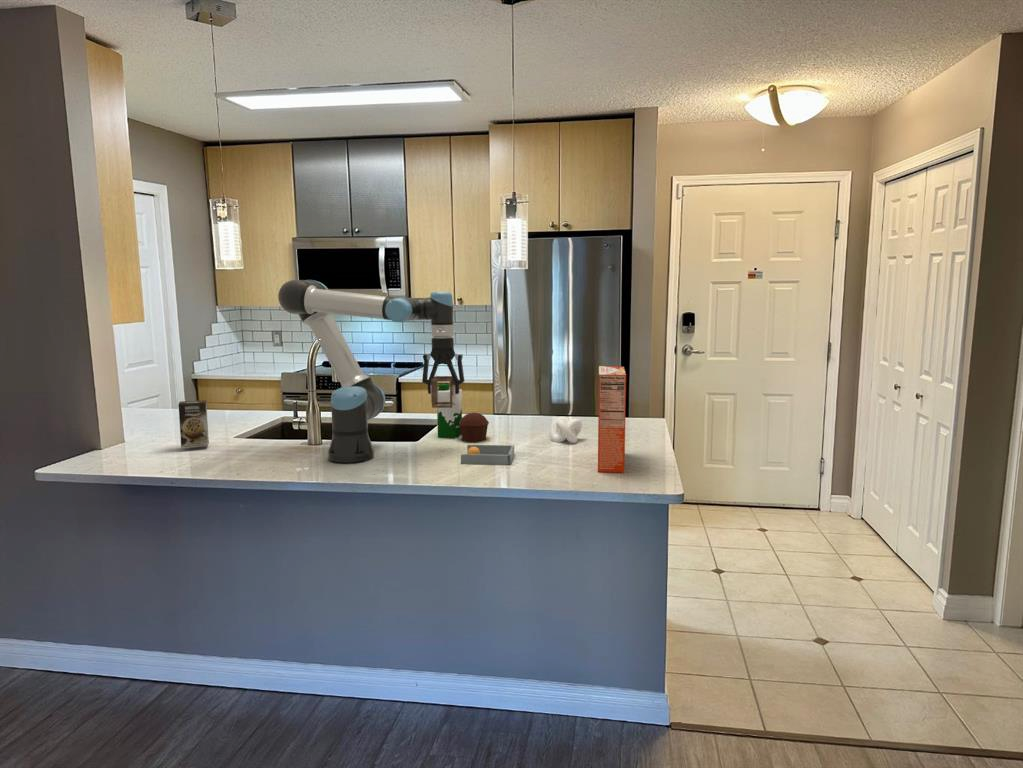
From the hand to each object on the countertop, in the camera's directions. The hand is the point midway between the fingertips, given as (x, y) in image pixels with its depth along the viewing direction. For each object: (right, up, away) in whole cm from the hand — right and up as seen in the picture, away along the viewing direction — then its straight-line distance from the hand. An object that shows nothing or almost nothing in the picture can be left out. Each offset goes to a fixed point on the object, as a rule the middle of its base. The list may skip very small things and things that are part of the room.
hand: (443, 403), depth 234 cm
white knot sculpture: (+44, -15, +13) cm, 48 cm away
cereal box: (+55, -19, -17) cm, 61 cm away
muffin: (+9, -15, +17) cm, 24 cm away
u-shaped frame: (+16, -18, -11) cm, 27 cm away
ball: (+11, -16, -11) cm, 22 cm away
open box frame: (0, -1, 0) cm, 1 cm away
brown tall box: (-92, -16, +11) cm, 93 cm away
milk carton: (0, -14, +23) cm, 27 cm away
